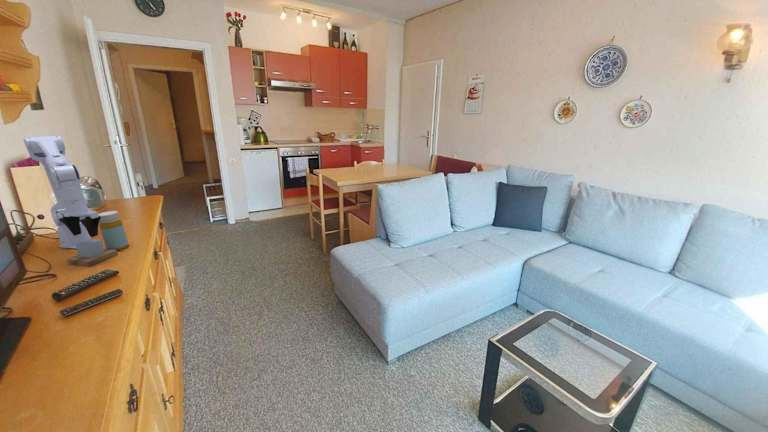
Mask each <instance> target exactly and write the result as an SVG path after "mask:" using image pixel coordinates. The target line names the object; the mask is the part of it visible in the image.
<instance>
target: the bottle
mask: <svg viewBox="0 0 768 432" xmlns="http://www.w3.org/2000/svg"><path fill="white" fill-rule="evenodd" d="M98 216H100V217H101V219H100V221H99V229H100V232H101V235H102V238H103V239H102V240H103V242H104V245H105V249H112V250H117V252H119V251H122V250H124V249H127V248H128V247H129V246H130V245H129V241H128V237H127V234H126V230H125V226H124V223H123V221H122V220H121V219H120V215H119V211H117V210H109V211H103V212H100V213H98Z"/></svg>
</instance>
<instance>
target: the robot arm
mask: <svg viewBox="0 0 768 432" xmlns="http://www.w3.org/2000/svg"><path fill="white" fill-rule="evenodd" d="M23 142H24V145H25V147H26V150H27V152H28V154H29V157H30V158H31V159H32V160H33V161H37V162H39V163H40V164H41V165H42V167H43V168H44V171H45V174H46V176H47V178H48V182H49V184H50V187H51V189H52V191H53V194H54V197H55V199H56V201H57V202H56V203H54V204H53V205H52V206H51V207H50V213H51V217H52V220H53V222H54V224H55V226H56V227H57V228H56V229H57V230H56V233H57V237H58V239H59V242H60V244H61V245H59V248H63V249H75V250H77V248H76V245H75V244H78V243H81V242H84V241H86V240H89V239H92V238H94V237H97V236H98V235H99V226H100V222H99V221H100V219H101V217H100V216H98V214H99V213H98V211H94V210H91V209H90V208H89V207H88V203H87V200H86V198H85V195H84V192H83V189H82V186H81V182H80V181H81V175H80V172H79V170H78V167H77V166H76V165H75V164H74V163H71V162H70V160H69V159H68V157H67V156H66V146H65V142H64V139H63V138H62V136H60V135H58V134H57V135H45V136H41V135H40V136H24V138H23Z"/></svg>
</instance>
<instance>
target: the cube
mask: <svg viewBox="0 0 768 432" xmlns="http://www.w3.org/2000/svg"><path fill="white" fill-rule="evenodd" d="M75 245H76V248H77V249H76V251H77V253H78V254H77V255H79V256H80V257H85V258H92V257H94V256H97V255H99V254H102V253H104V249H105V248H104V246H103V243H102V240H101V239H94V238H93V239H92V238H91V239H89V240H86V241H84V242H81V243H78V244H75Z"/></svg>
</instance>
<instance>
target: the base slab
mask: <svg viewBox="0 0 768 432" xmlns="http://www.w3.org/2000/svg"><path fill="white" fill-rule="evenodd" d="M103 249H104V253H102V254H99V255H97V256H94V257H92V258H85V257H80V256H79V254H76V255H74V256H71V257H69V258H66V261H67V264H68V265H70V266H71V265H72V266H80V267H89V268H90V267H91V268H92V267H93V266H95V265H97V264H100V263H102V262H105V261H108V260H110V259H112V258H114V257H116V256H118V255H119V254H118V251H117V250H112V249H107V248H103Z"/></svg>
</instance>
